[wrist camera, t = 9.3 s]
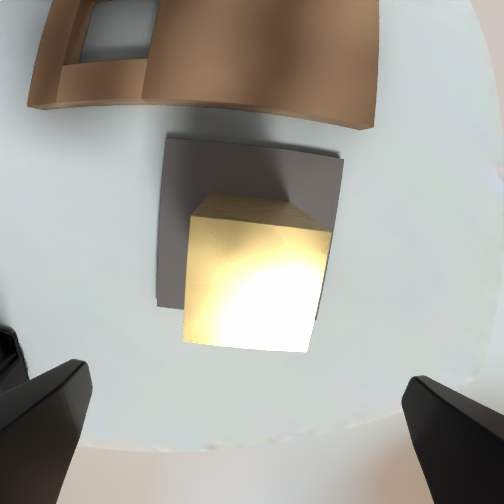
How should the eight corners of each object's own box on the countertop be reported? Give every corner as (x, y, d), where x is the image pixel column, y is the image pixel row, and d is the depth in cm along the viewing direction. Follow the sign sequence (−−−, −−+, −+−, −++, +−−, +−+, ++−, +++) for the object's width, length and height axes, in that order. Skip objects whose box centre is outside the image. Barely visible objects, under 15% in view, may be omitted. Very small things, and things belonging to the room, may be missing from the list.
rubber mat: (159, 302, 19) (156, 306, 19) (168, 139, 17) (166, 138, 16) (313, 315, 20) (316, 320, 20) (340, 159, 18) (344, 159, 17)
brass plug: (203, 267, 18) (183, 341, 11) (210, 191, 17) (190, 216, 9) (278, 275, 19) (306, 351, 11) (289, 201, 17) (331, 232, 10)
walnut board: (43, 109, 15) (26, 106, 14) (75, -17, 13) (64, -28, 11) (360, 130, 17) (373, 127, 15) (366, -4, 14) (378, -17, 12)
